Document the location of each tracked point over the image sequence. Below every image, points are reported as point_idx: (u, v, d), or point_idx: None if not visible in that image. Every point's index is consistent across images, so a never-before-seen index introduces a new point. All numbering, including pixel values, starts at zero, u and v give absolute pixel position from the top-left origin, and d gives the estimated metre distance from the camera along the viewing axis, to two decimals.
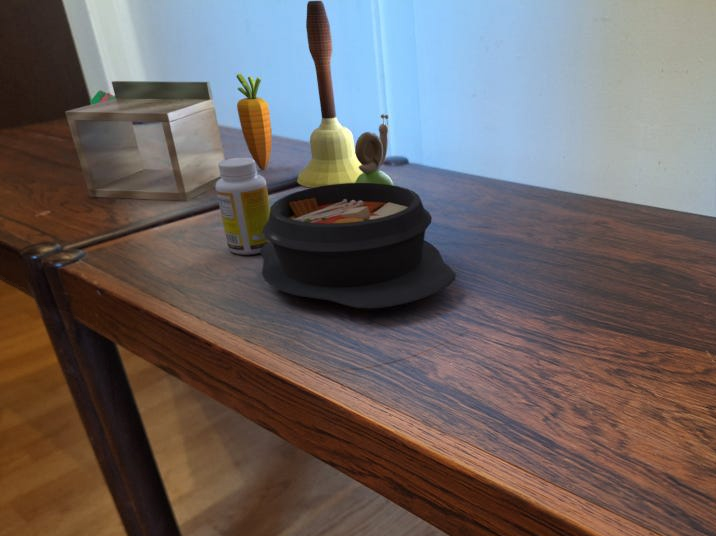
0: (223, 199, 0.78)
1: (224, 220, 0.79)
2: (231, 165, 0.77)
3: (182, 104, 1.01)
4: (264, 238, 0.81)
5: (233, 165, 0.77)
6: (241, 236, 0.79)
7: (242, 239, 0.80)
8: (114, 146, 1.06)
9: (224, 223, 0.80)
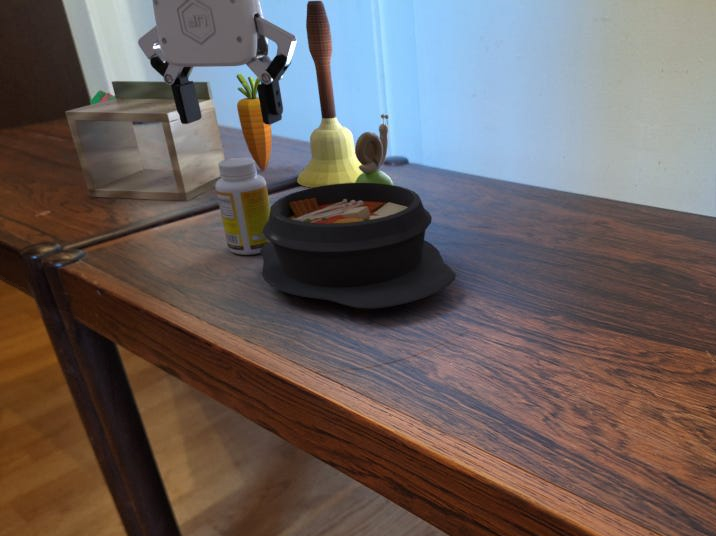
0: (223, 199, 0.78)
1: (224, 220, 0.79)
2: (231, 165, 0.77)
3: None
4: (264, 238, 0.81)
5: (233, 165, 0.77)
6: (241, 236, 0.79)
7: (242, 239, 0.80)
8: (114, 146, 1.06)
9: (224, 223, 0.80)
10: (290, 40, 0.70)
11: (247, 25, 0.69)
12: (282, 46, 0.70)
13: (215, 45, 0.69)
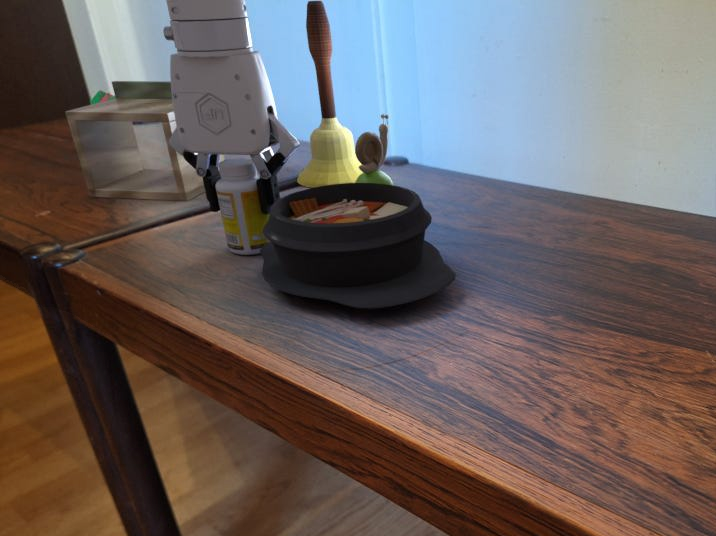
0: (223, 199, 0.78)
1: (224, 220, 0.79)
2: (231, 165, 0.77)
3: None
4: (264, 238, 0.81)
5: (233, 165, 0.77)
6: (241, 236, 0.79)
7: (242, 239, 0.80)
8: (114, 146, 1.06)
9: (224, 223, 0.80)
10: (293, 147, 0.75)
11: (261, 119, 0.73)
12: (284, 148, 0.76)
13: (230, 136, 0.74)
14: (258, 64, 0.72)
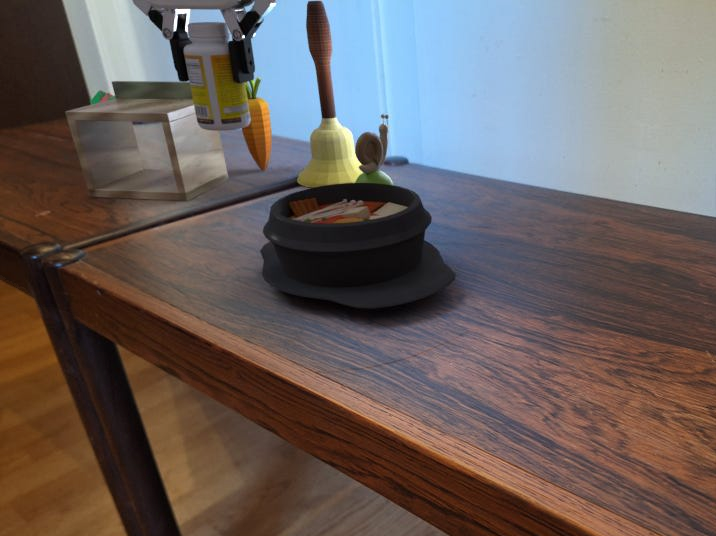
0: (191, 63, 0.71)
1: (193, 89, 0.73)
2: (201, 24, 0.70)
3: (182, 104, 1.01)
4: (237, 112, 0.74)
5: (203, 24, 0.70)
6: (211, 108, 0.73)
7: (212, 111, 0.73)
8: (114, 146, 1.06)
9: (193, 93, 0.73)
10: (269, 3, 0.68)
11: None
12: (259, 5, 0.69)
13: None
14: None
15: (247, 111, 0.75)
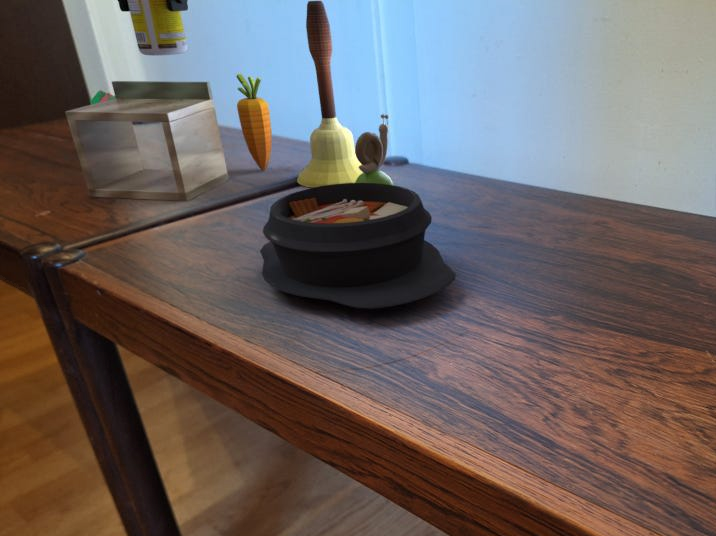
0: None
1: (132, 17, 0.82)
2: None
3: (182, 104, 1.01)
4: (172, 38, 0.83)
5: None
6: (148, 34, 0.82)
7: (149, 36, 0.82)
8: (114, 146, 1.06)
9: (133, 21, 0.82)
10: None
11: None
12: None
13: None
14: None
15: (183, 39, 0.84)
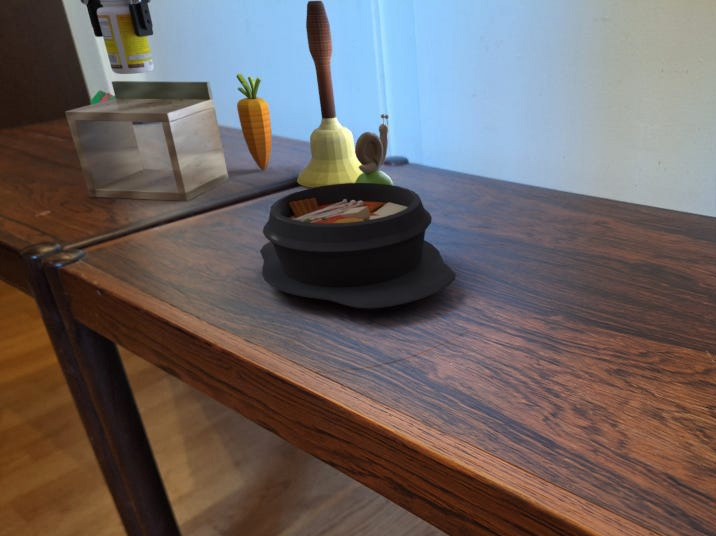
0: (102, 21, 0.94)
1: (105, 42, 0.96)
2: None
3: (182, 104, 1.01)
4: (140, 59, 0.97)
5: None
6: (119, 56, 0.96)
7: (120, 58, 0.96)
8: (114, 146, 1.06)
9: (106, 45, 0.96)
10: None
11: None
12: None
13: None
14: None
15: (149, 59, 0.98)
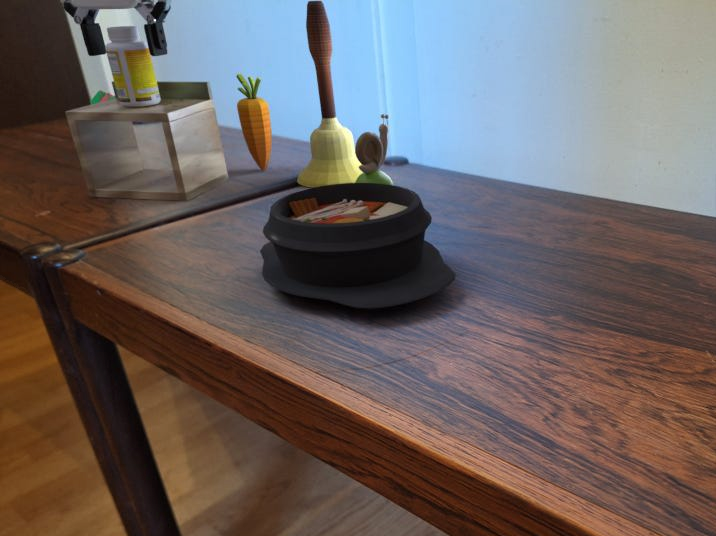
0: (111, 57, 0.96)
1: (113, 76, 0.98)
2: (116, 28, 0.95)
3: (182, 104, 1.01)
4: (147, 93, 0.99)
5: (117, 28, 0.95)
6: (127, 90, 0.98)
7: (128, 92, 0.98)
8: (114, 146, 1.06)
9: (114, 79, 0.98)
10: None
11: None
12: None
13: None
14: None
15: (156, 92, 1.00)
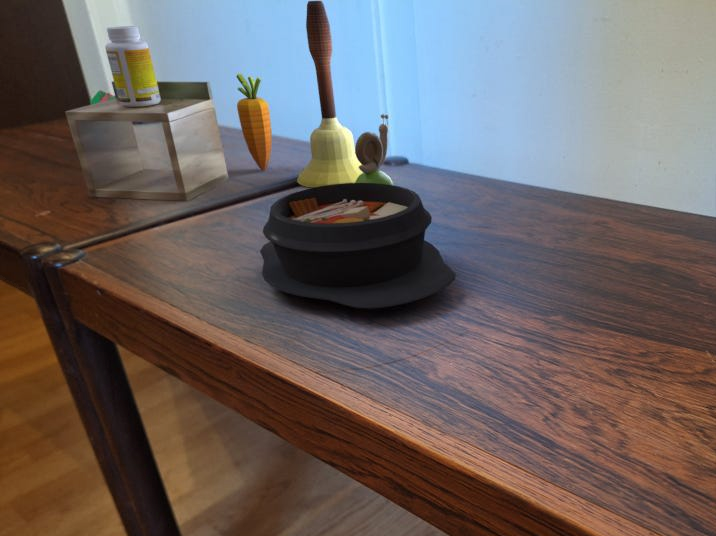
0: (111, 57, 0.96)
1: (113, 76, 0.98)
2: (116, 28, 0.95)
3: (182, 104, 1.01)
4: (147, 93, 0.99)
5: (118, 28, 0.95)
6: (127, 90, 0.98)
7: (128, 92, 0.98)
8: (114, 146, 1.06)
9: (114, 79, 0.98)
10: None
11: None
12: None
13: None
14: None
15: (156, 92, 1.00)
